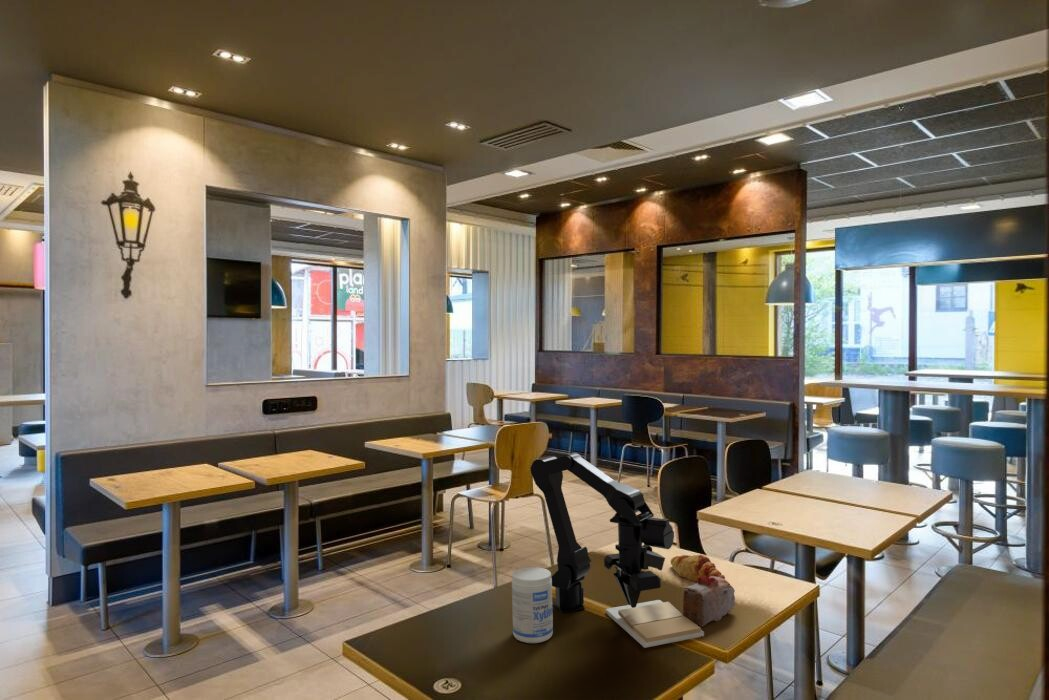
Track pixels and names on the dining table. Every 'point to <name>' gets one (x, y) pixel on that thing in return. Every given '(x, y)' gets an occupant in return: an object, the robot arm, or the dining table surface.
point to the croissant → (694, 567)
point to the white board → (657, 628)
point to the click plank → (649, 613)
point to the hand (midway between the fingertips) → (632, 606)
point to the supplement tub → (532, 604)
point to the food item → (708, 600)
